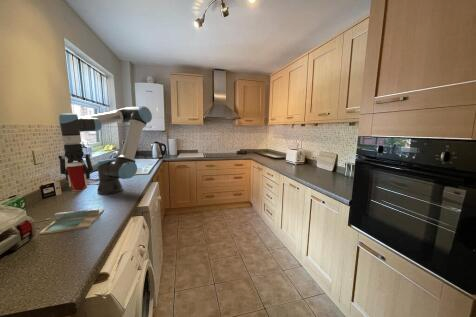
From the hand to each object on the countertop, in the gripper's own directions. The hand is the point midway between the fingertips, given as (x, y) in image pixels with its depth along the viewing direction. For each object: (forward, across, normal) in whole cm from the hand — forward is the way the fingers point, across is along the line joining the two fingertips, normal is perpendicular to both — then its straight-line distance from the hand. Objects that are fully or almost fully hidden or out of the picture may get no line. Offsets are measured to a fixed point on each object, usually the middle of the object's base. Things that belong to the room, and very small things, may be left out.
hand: (79, 185), depth 109 cm
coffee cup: (+2, 0, 0) cm, 2 cm away
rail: (+13, +3, -13) cm, 19 cm away
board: (+14, +3, -16) cm, 21 cm away
